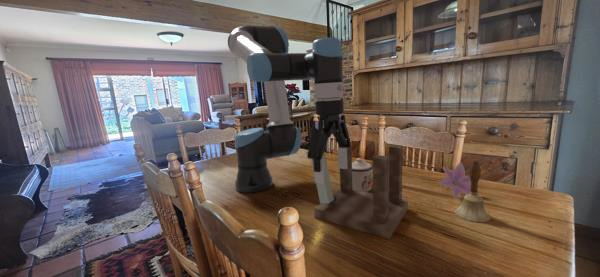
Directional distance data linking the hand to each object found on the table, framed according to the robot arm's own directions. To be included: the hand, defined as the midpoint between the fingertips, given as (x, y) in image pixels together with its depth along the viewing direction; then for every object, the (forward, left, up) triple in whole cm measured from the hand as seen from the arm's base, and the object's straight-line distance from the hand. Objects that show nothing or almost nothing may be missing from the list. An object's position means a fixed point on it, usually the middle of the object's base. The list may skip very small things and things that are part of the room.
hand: (332, 175), depth 72 cm
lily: (+28, +34, -14) cm, 46 cm away
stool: (+6, +7, -13) cm, 16 cm away
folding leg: (-2, 0, -8) cm, 9 cm away
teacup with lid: (-2, +26, -13) cm, 29 cm away
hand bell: (+33, +21, -14) cm, 41 cm away
